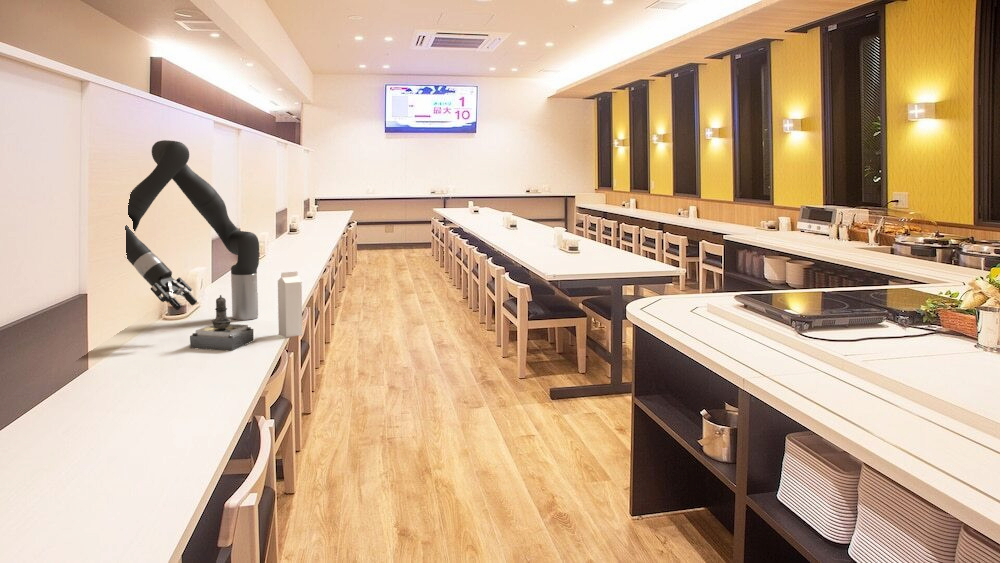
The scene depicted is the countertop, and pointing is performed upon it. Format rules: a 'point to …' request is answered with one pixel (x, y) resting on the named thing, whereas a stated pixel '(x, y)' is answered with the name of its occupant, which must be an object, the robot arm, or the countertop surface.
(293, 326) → the milk
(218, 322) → the grey stone figure
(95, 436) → the countertop surface
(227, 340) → the grey square box
